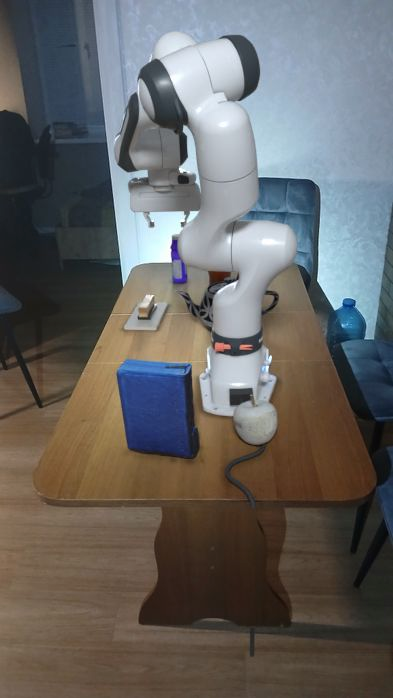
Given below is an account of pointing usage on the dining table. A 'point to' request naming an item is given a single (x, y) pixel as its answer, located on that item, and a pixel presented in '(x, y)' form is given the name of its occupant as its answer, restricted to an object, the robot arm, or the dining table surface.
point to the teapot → (206, 305)
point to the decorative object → (255, 421)
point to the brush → (147, 308)
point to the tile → (146, 324)
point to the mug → (219, 276)
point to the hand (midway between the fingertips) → (167, 227)
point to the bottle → (177, 263)
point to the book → (158, 407)
